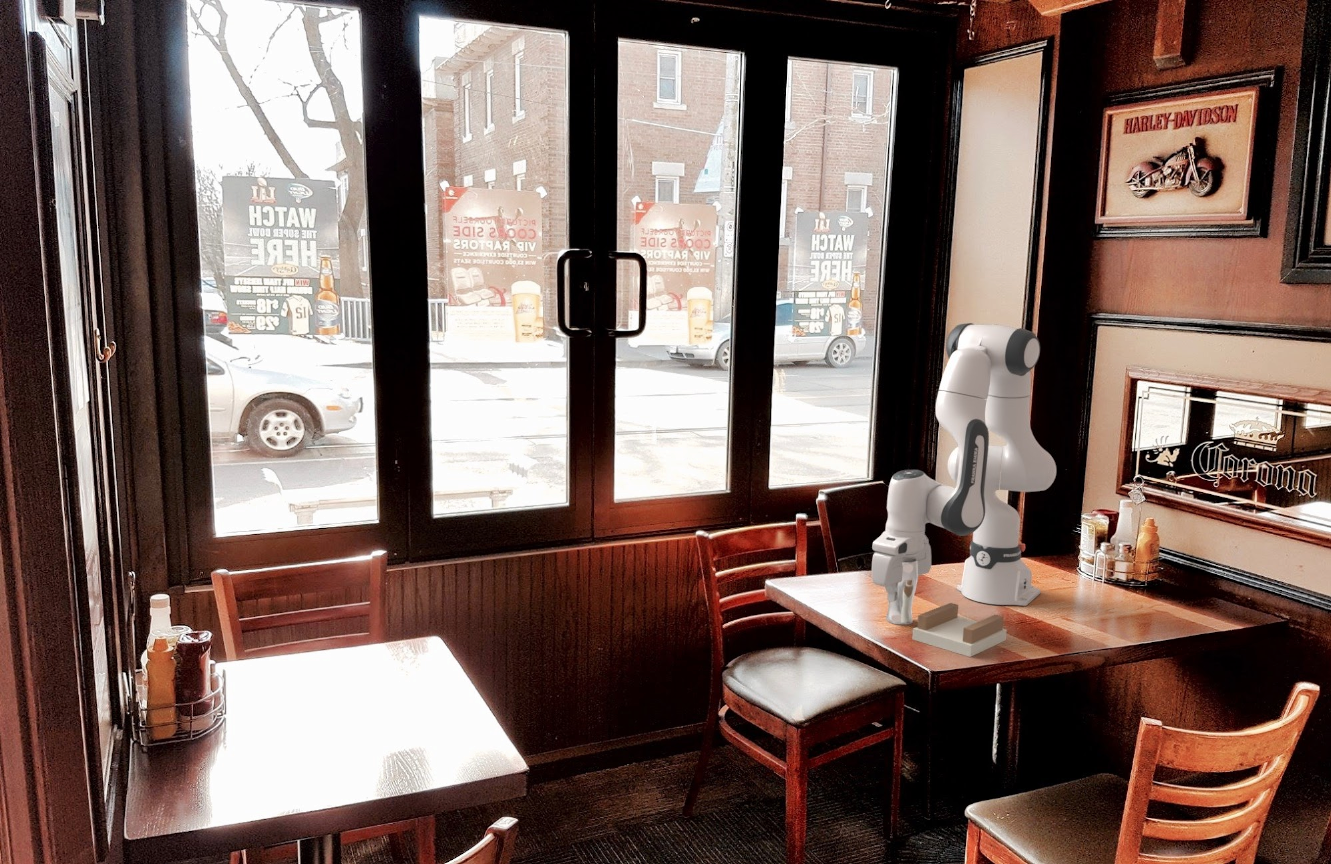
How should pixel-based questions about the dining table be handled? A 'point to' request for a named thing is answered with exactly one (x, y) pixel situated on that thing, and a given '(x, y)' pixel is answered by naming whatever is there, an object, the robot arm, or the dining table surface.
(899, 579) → the robot arm
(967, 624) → the stand
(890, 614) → the beer glass
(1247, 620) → the dining table surface
